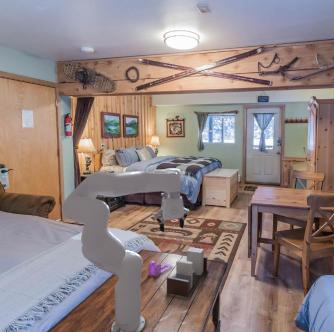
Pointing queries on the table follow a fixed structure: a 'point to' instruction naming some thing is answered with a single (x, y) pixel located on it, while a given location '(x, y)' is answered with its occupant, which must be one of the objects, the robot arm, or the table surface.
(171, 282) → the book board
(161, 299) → the table surface
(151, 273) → the bracket
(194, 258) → the white books
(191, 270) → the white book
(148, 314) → the table surface
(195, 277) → the grey books
